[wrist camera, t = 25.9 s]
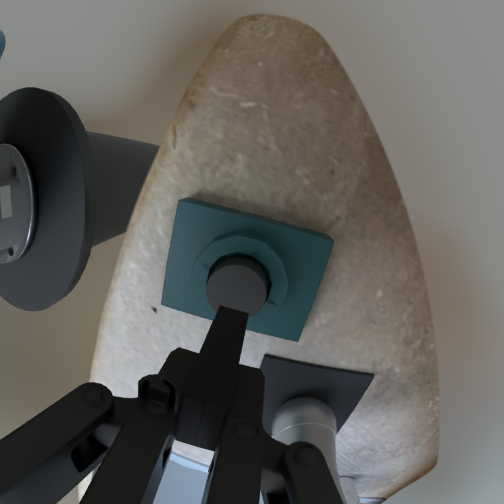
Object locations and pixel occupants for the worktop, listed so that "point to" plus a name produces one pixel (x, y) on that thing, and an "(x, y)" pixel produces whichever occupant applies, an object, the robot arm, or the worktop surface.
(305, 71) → the worktop surface
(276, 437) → the silver bottle
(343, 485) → the white cup
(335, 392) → the mat
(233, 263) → the button
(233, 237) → the teal pump base
